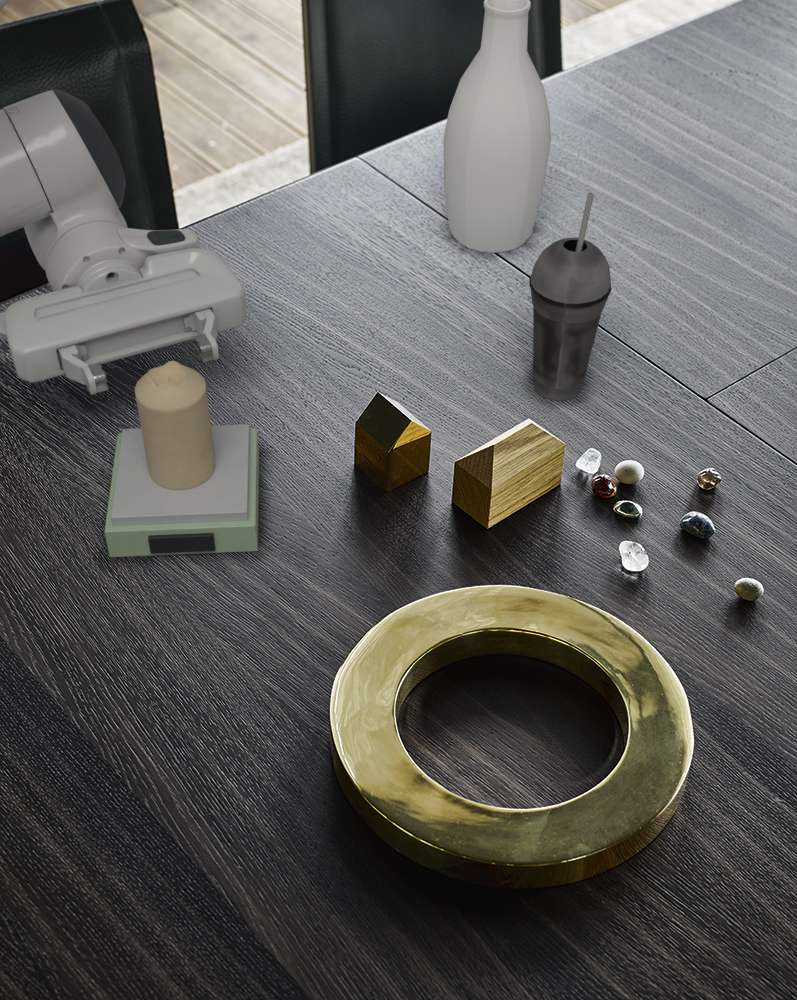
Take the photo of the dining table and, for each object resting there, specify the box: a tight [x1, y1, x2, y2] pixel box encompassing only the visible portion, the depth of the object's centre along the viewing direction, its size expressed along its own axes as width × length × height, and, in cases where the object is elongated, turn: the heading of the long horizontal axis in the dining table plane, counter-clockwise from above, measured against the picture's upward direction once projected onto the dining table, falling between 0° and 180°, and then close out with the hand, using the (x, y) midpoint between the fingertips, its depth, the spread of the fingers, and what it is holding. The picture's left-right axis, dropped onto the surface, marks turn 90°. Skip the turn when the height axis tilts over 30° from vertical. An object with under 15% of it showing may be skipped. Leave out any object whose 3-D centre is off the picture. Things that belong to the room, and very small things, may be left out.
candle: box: [134, 360, 215, 490], centre depth 100 cm, size 6×6×10 cm
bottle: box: [443, 0, 552, 254], centre depth 129 cm, size 11×11×25 cm
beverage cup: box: [528, 191, 612, 402], centre depth 112 cm, size 7×7×20 cm
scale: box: [103, 423, 260, 558], centre depth 105 cm, size 12×12×4 cm
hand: (155, 370), depth 102 cm, fingers open, 8 cm apart
